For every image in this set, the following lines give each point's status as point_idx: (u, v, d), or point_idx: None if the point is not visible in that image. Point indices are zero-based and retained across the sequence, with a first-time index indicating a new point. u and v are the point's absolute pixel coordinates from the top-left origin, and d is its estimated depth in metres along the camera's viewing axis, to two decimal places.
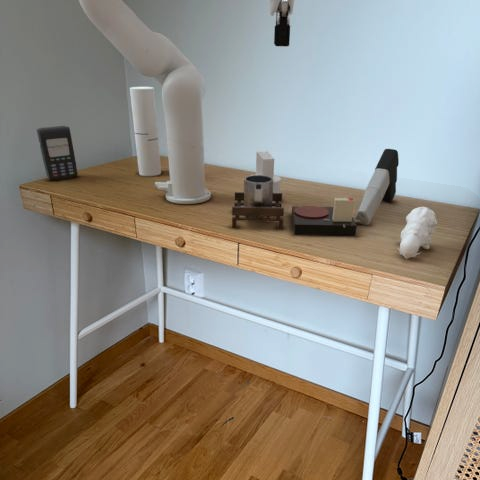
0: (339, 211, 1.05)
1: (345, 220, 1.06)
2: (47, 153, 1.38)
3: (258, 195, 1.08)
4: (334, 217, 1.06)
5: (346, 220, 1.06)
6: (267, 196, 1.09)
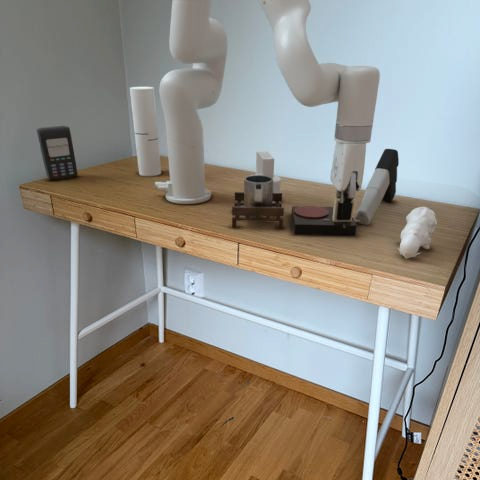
0: None
1: (345, 220, 1.06)
2: (47, 153, 1.38)
3: (258, 195, 1.08)
4: (334, 217, 1.06)
5: (346, 220, 1.06)
6: (267, 196, 1.09)
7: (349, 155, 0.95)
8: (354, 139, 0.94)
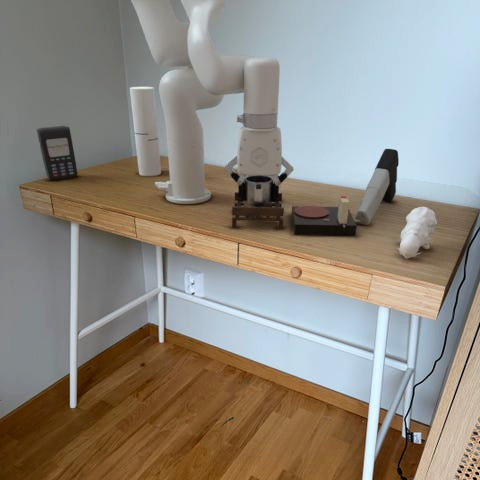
0: None
1: None
2: (47, 153, 1.38)
3: (258, 195, 1.08)
4: (346, 219, 1.05)
5: None
6: (267, 196, 1.09)
7: None
8: (276, 124, 1.02)
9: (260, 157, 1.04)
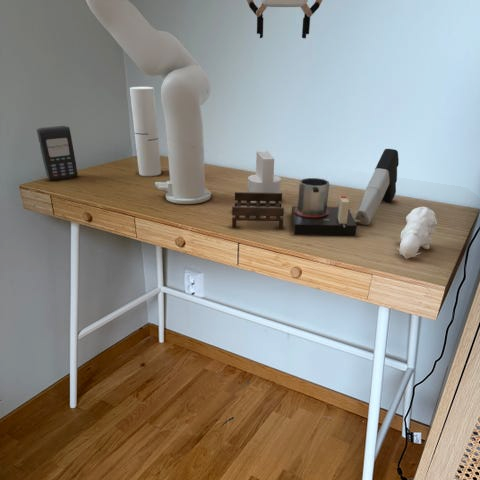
0: None
1: None
2: (47, 153, 1.38)
3: (314, 198, 1.07)
4: (346, 219, 1.05)
5: None
6: (323, 199, 1.07)
7: None
8: None
9: None
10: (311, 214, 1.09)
